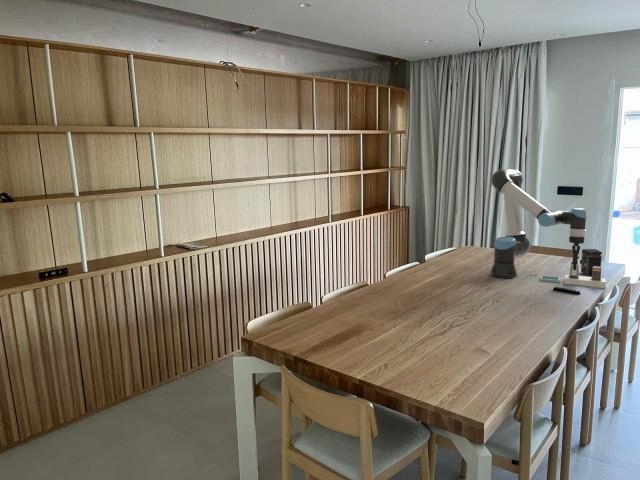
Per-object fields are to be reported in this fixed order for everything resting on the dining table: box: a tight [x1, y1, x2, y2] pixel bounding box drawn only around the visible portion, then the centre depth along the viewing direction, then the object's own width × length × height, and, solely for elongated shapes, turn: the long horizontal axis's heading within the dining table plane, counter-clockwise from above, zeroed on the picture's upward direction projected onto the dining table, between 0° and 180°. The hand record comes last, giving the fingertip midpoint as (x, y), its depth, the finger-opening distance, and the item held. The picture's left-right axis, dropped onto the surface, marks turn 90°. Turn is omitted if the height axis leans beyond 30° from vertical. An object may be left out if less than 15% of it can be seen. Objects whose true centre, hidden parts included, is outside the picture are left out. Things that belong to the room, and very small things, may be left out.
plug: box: [569, 263, 580, 279], centre depth 267 cm, size 4×4×10 cm
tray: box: [539, 275, 561, 284], centre depth 273 cm, size 10×8×2 cm
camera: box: [579, 248, 603, 276], centre depth 285 cm, size 10×10×15 cm
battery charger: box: [564, 266, 607, 289], centre depth 264 cm, size 20×9×10 cm, turn 61°
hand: (574, 272), depth 267 cm, fingers open, 13 cm apart
